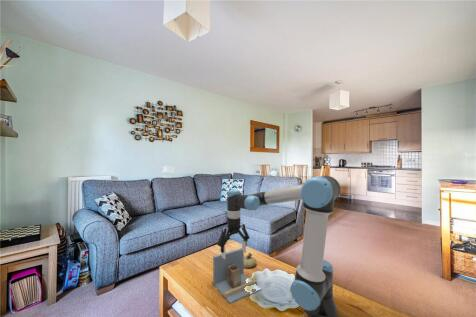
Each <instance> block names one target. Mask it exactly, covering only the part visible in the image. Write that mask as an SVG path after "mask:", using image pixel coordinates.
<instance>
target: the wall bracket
mask: <svg viewBox="0 0 476 317" xmlns="http://www.w3.org/2000/svg"><path fill="white" fill-rule="evenodd" d="M244 254H245V253H244V252H243V251H242V247H240V248H236V249H233V250H229V251H225V256H226V259H223V258H222V253H218V254H216V255H213V256H212V285H213V286H214V287H215V288H216V289H217V291H219V293H220V294H221V295H222V296H223V298H224V299H225V300H226V302H228V304H233V303H236V302H237V301H240V300H242V299H244V298H246V297H248V296H251V295H250V292H247V291H245V289H244V288H245V287H246V286H251V285H254V284H256V285H257V280H255V279H253V280H252V281H251V282H248V283H246V281H245V280H246V279H247V278H249V277H248V276H247V275H246V274H245V273H244V269H245V268H244ZM231 265H236V266H237V267H238V268H239V269H240V270H241V286H239V287H236V288H234V289H233V288H232V287H231V286H230V285H229V284H228V283H227V267H228V266H231ZM251 291H252V292H255V291H256V289H252V290H251ZM255 293H256V292H255Z"/></svg>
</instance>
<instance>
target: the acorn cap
mask: <svg viewBox="0 0 476 317" xmlns="http://www.w3.org/2000/svg"><path fill="white" fill-rule="evenodd" d="M252 256H253V254H252V253H251V252H248V254H247V255H245V256H244V269H249V268H253V267H256V265H257V263H258V262H257V259H256V258H255V257H252Z"/></svg>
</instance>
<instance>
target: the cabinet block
mask: <svg viewBox="0 0 476 317" xmlns="http://www.w3.org/2000/svg"><path fill="white" fill-rule="evenodd" d="M227 283H228V284H229V285H230V286H231V287H232V288H233V289H234V288H236V287H239V286H241V270H240V269H239V268H238V267H237V266H236V265H231V266H228V267H227Z"/></svg>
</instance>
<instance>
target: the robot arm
mask: <svg viewBox="0 0 476 317" xmlns="http://www.w3.org/2000/svg"><path fill="white" fill-rule="evenodd" d="M226 194H227V195H226V202H227V203H226V206H227V210H226V213H227V215H226V216H227V222H226V224H227V227H224V226H222V229H221V234H220V236H219V239H218V240H217V243H216V244H217V247H219V248H220V253H221V254H222V258H223V259H226V256H225V253H226V244H227V243H228V241H229V239H230V237H231V236H232V235H237V234H238V235H239V236H240V238H242V240H241V248H242V251H243V252H244V254H245V253H247V246H248V244H247V243H248V241H249V239H250V235H249V234H248V231H247V229H246V225H245V223H241V209H242V210H243V209H244V210H248V211H257V210H258V208H259V207H261V206H268V205H273V204H282V203H287V202H296V201H303V202H302V203H303V205H302V207H303V209H304V210H305V211H306V212H305V221H304V230H303V238H302V247H301V258H300V264H298V265H297V266H296V270H295V278H294V280H293V281H292V282H291V284H290V287H289V288H290V295H291V298H293V299H294V302H295V303H296V304H297V305H298V306H299V307H300V308H301V309H303V311H304V312H305V314H306V315H307V316H309V317H338V307H337V305H336V301H335V298H334V292H333V291H334V277H333V276H334V270H333V269H334V266H333V265H332V264H331V263H330V262H329V261H327V260H325V259H324V255H325V249H326V248H325V247H326V241H327V240H326V239H327V231H328V223H329V222H328V221H329V216H330V215H331V214H333V213H334V208H335V207H334V206H335V205H334V204H335V200H336V199H338V197H340V194H341V185H340V183H339V181H338V180H337V179H336V178H334V177H333V176H330V175H321V176H318V175H317V176H313V177H310V178H309V179H306V180H305V181H304V182H303V184H297V185H292V186H287V187H281V188H277V189H272V190H267V191H260V192H256V193H251V194H242V193H241V191H240V190H239V189H230V190H228V191H227V193H226ZM241 230H242V231H241Z"/></svg>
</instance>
